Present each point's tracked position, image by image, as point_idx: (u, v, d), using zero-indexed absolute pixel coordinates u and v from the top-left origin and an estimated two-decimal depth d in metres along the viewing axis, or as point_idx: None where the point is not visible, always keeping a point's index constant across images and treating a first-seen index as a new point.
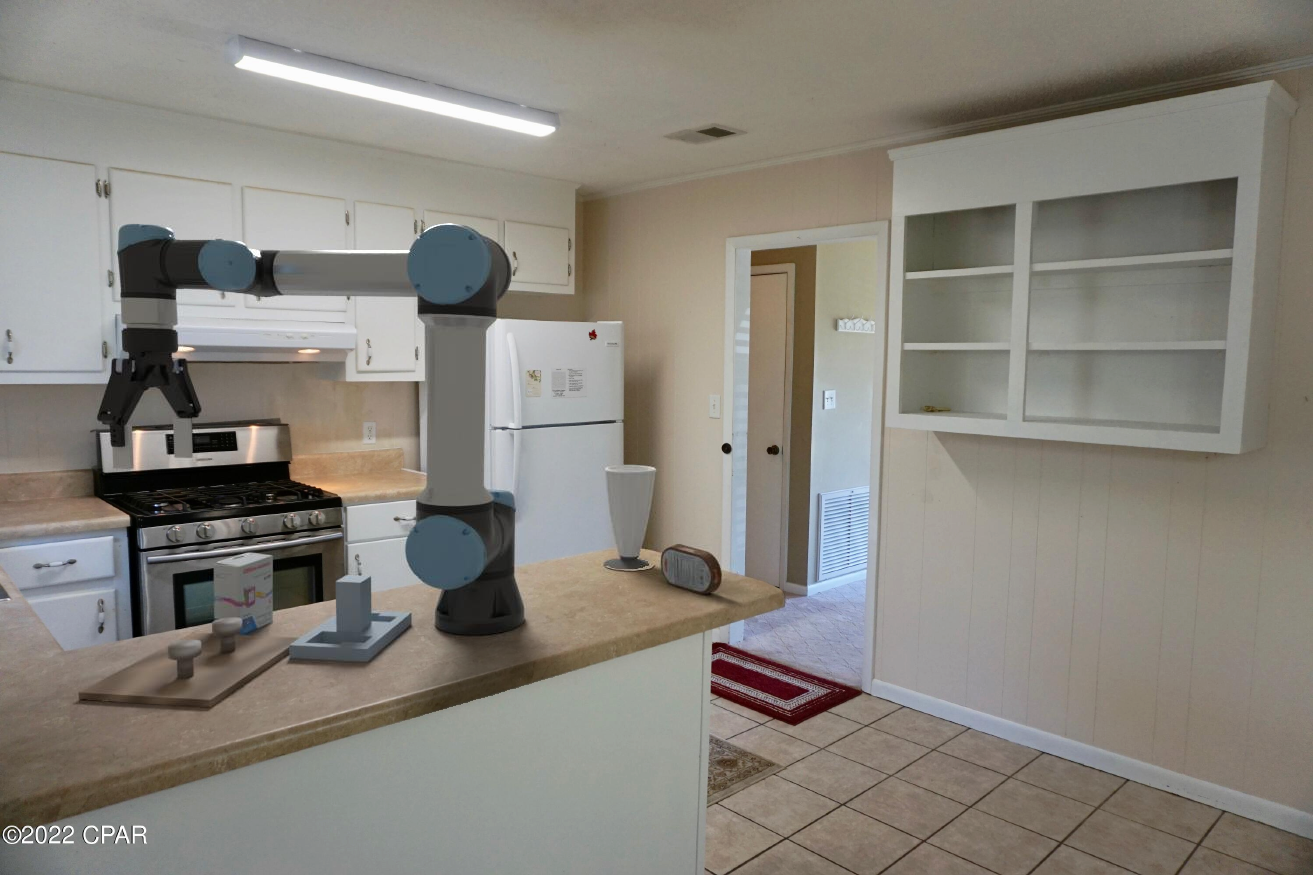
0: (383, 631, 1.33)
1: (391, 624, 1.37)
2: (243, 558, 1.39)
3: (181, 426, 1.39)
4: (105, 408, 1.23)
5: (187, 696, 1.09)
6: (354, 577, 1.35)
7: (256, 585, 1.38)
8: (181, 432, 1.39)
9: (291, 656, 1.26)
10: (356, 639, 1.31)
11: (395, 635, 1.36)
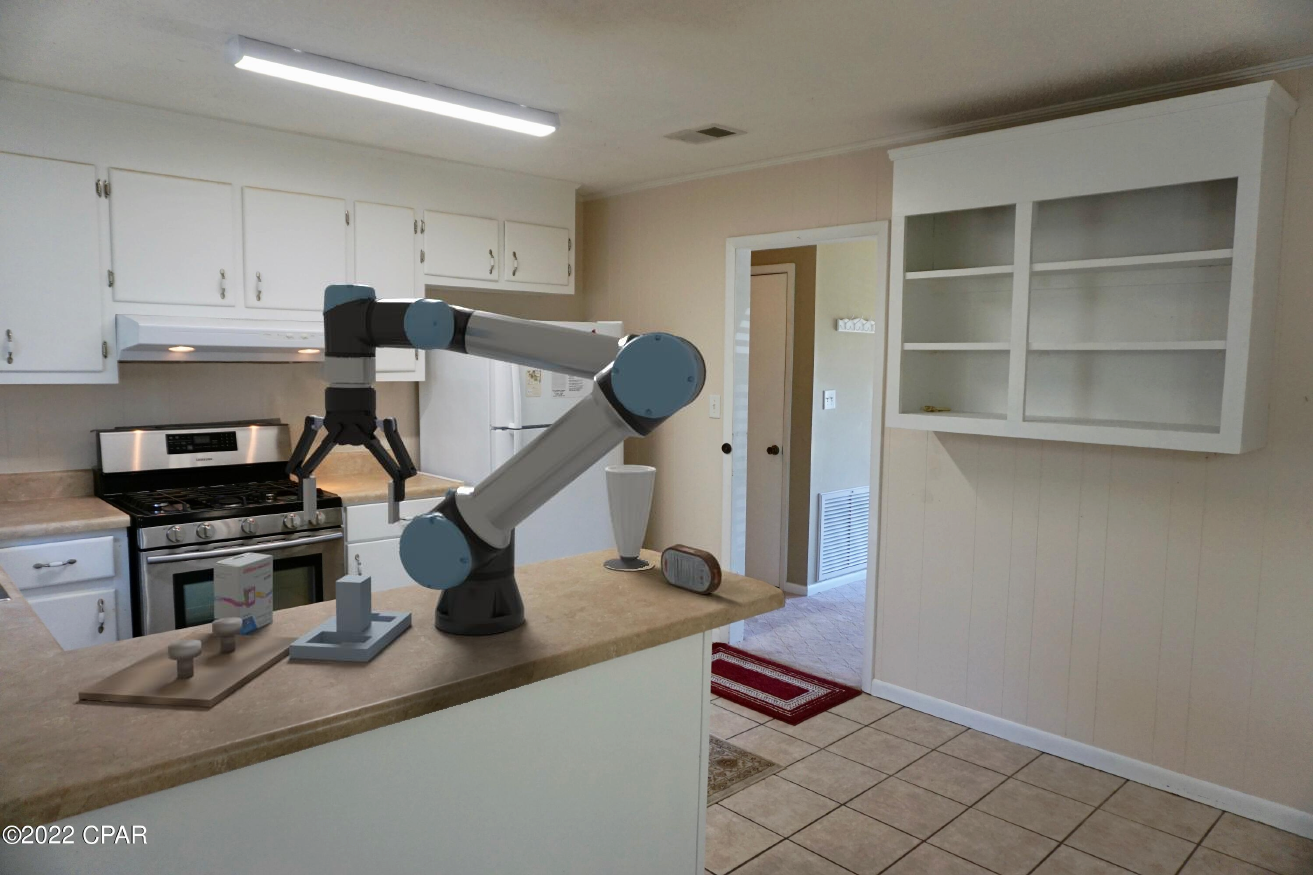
0: (383, 631, 1.33)
1: (391, 624, 1.37)
2: (243, 558, 1.39)
3: None
4: None
5: (187, 696, 1.09)
6: (354, 577, 1.35)
7: (256, 585, 1.38)
8: None
9: (291, 656, 1.26)
10: (356, 639, 1.31)
11: (395, 635, 1.36)
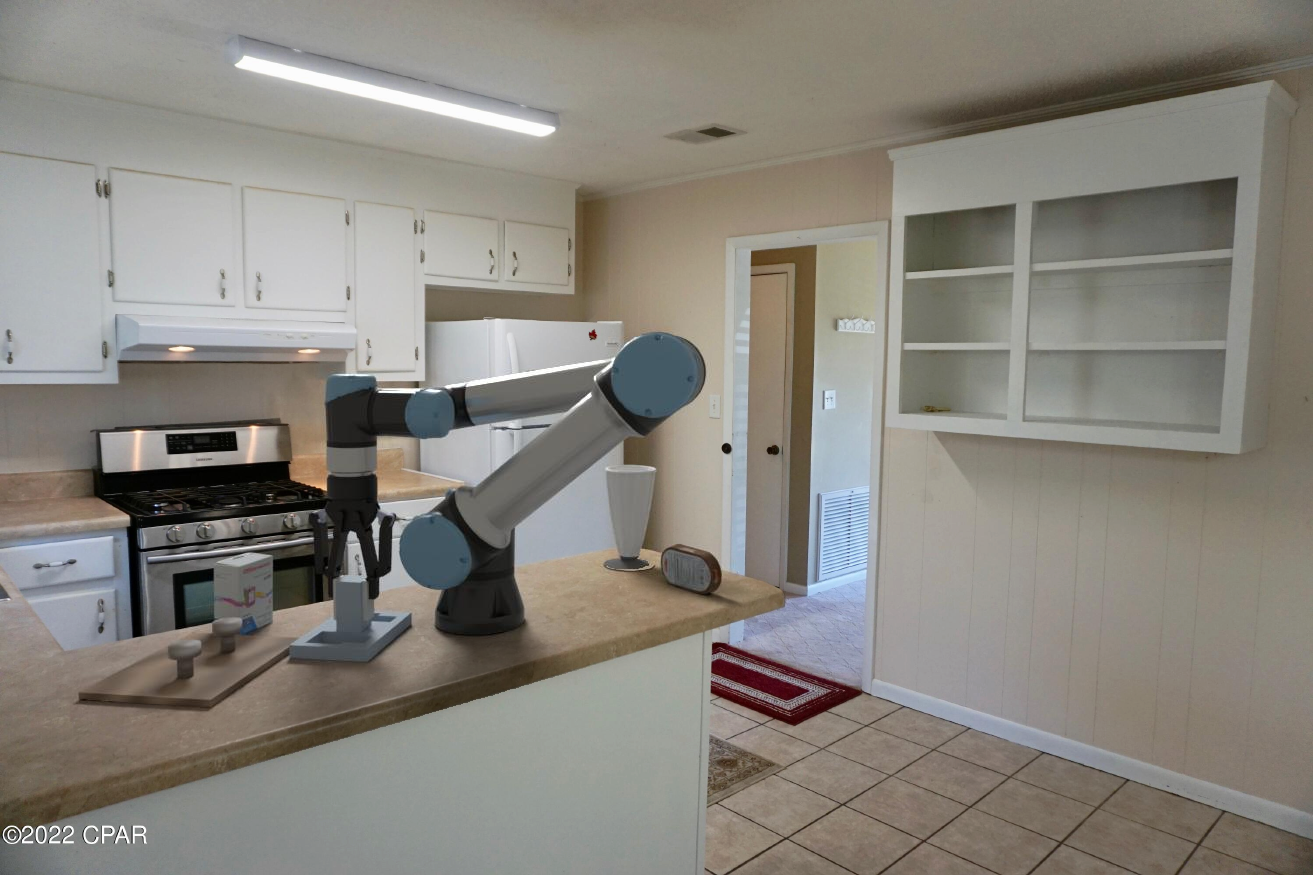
0: (383, 631, 1.33)
1: (391, 624, 1.37)
2: (243, 558, 1.39)
3: None
4: None
5: (187, 696, 1.09)
6: (354, 577, 1.35)
7: (256, 585, 1.38)
8: None
9: (291, 656, 1.26)
10: (356, 639, 1.31)
11: (395, 635, 1.36)
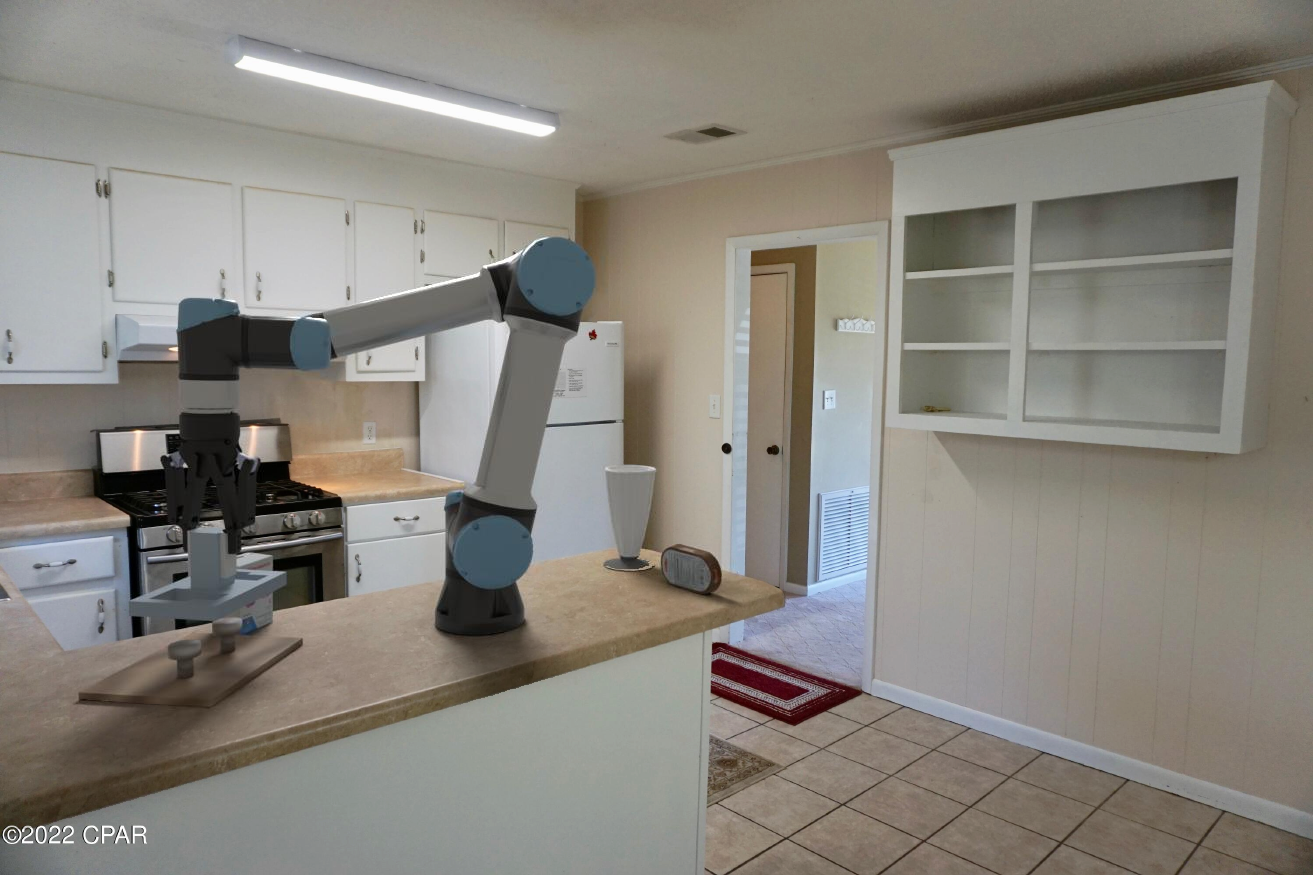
0: (244, 589, 1.18)
1: (257, 582, 1.22)
2: (243, 558, 1.39)
3: None
4: None
5: (187, 696, 1.09)
6: (214, 528, 1.20)
7: None
8: None
9: (131, 614, 1.12)
10: (211, 597, 1.16)
11: (261, 595, 1.22)
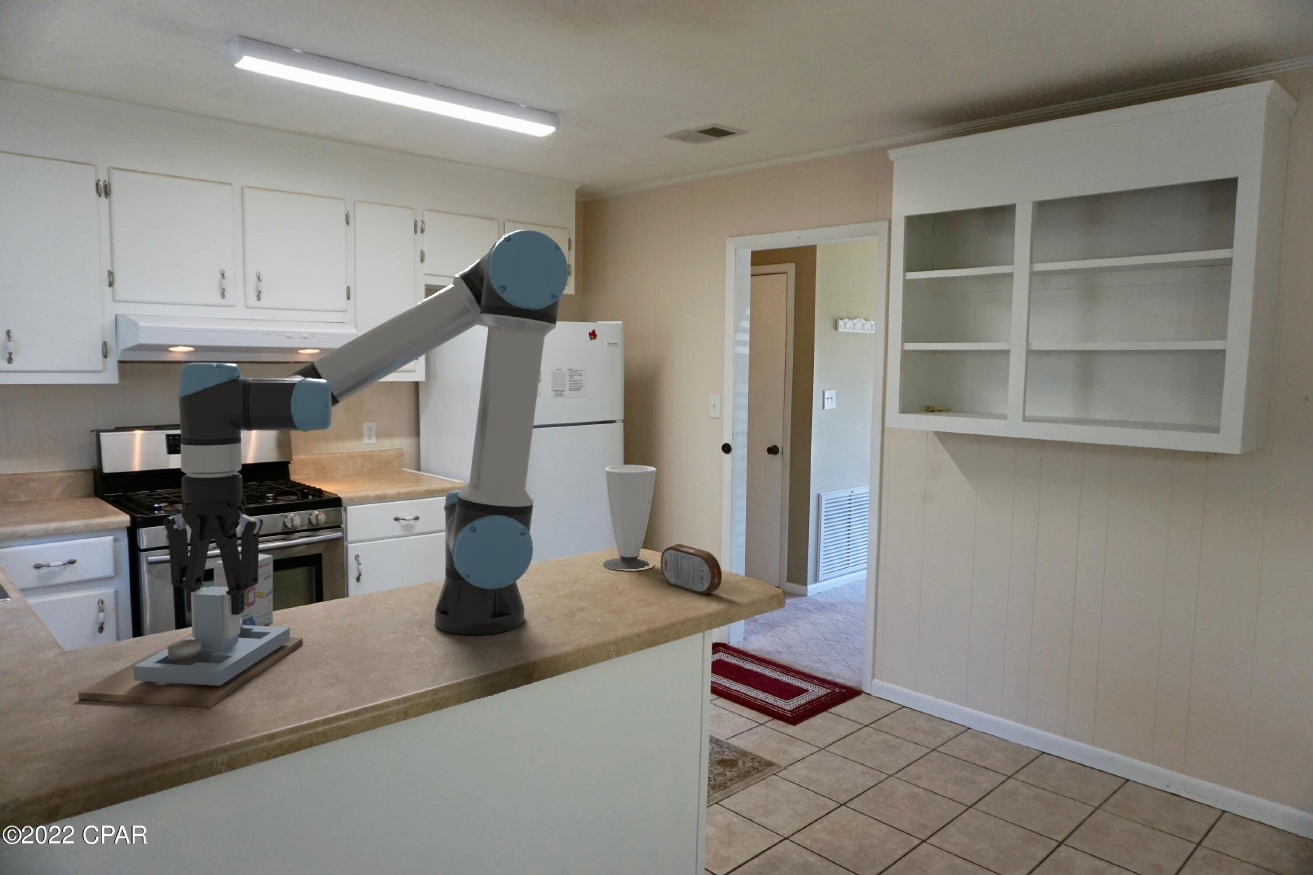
0: (247, 650, 1.19)
1: (260, 641, 1.23)
2: None
3: None
4: None
5: (187, 696, 1.09)
6: (217, 589, 1.21)
7: (256, 585, 1.38)
8: None
9: (136, 678, 1.13)
10: (215, 659, 1.17)
11: (264, 654, 1.22)
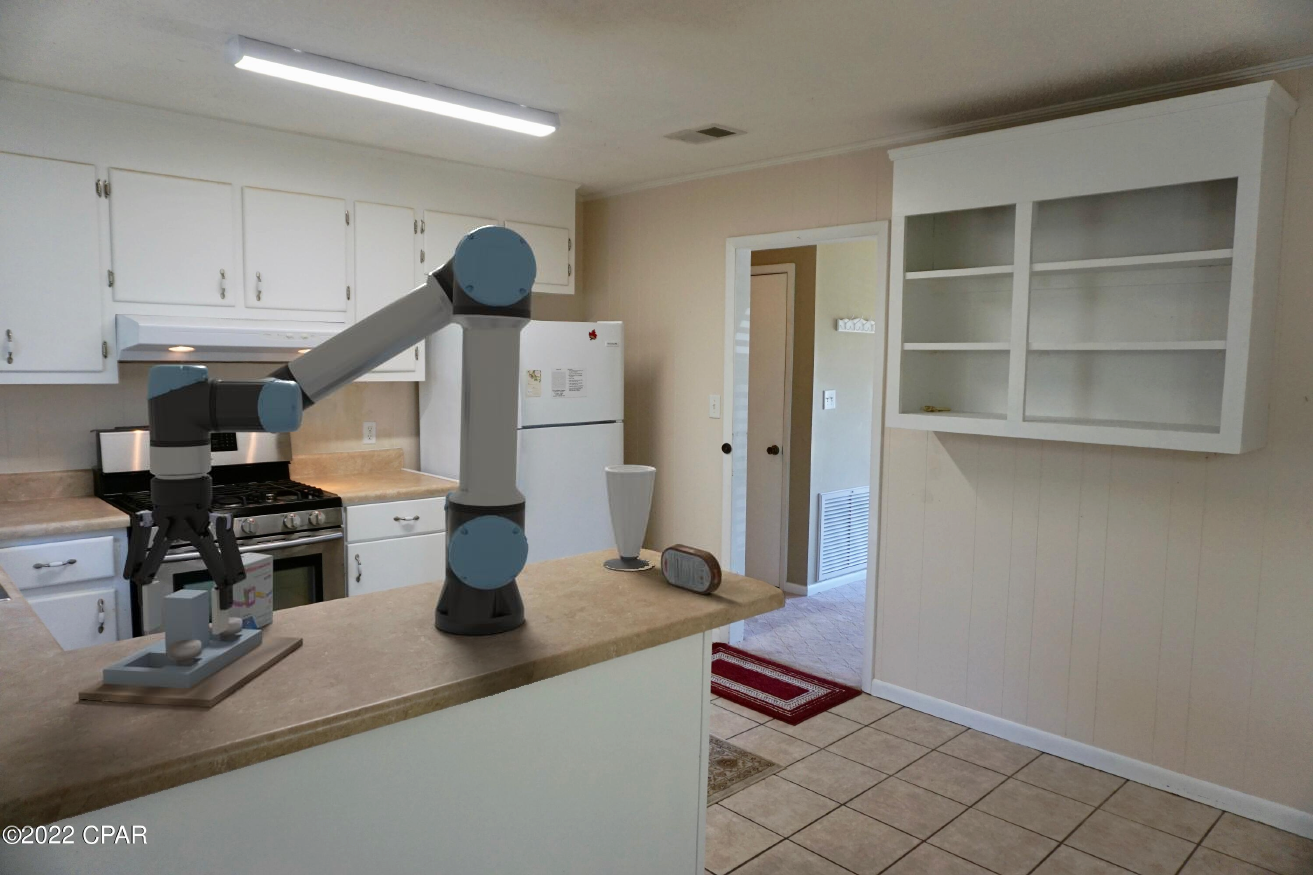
0: (218, 652, 1.20)
1: (232, 644, 1.23)
2: (244, 558, 1.39)
3: None
4: None
5: (187, 696, 1.09)
6: (188, 592, 1.21)
7: (256, 585, 1.38)
8: None
9: (105, 682, 1.13)
10: None
11: (236, 656, 1.23)
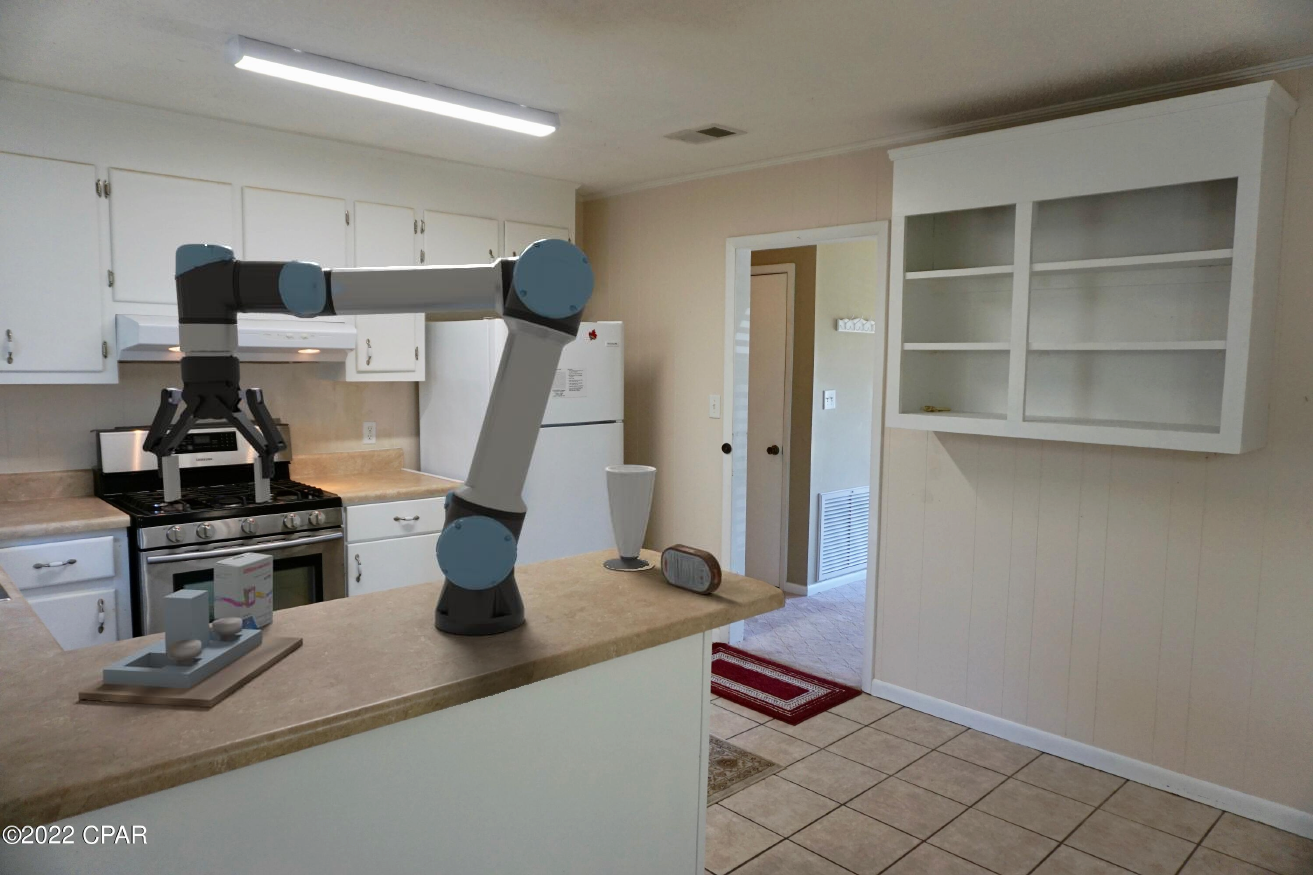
0: (218, 652, 1.20)
1: (232, 644, 1.23)
2: (243, 558, 1.39)
3: None
4: None
5: (187, 696, 1.09)
6: (188, 592, 1.21)
7: (256, 585, 1.38)
8: None
9: (105, 682, 1.13)
10: None
11: (236, 656, 1.23)
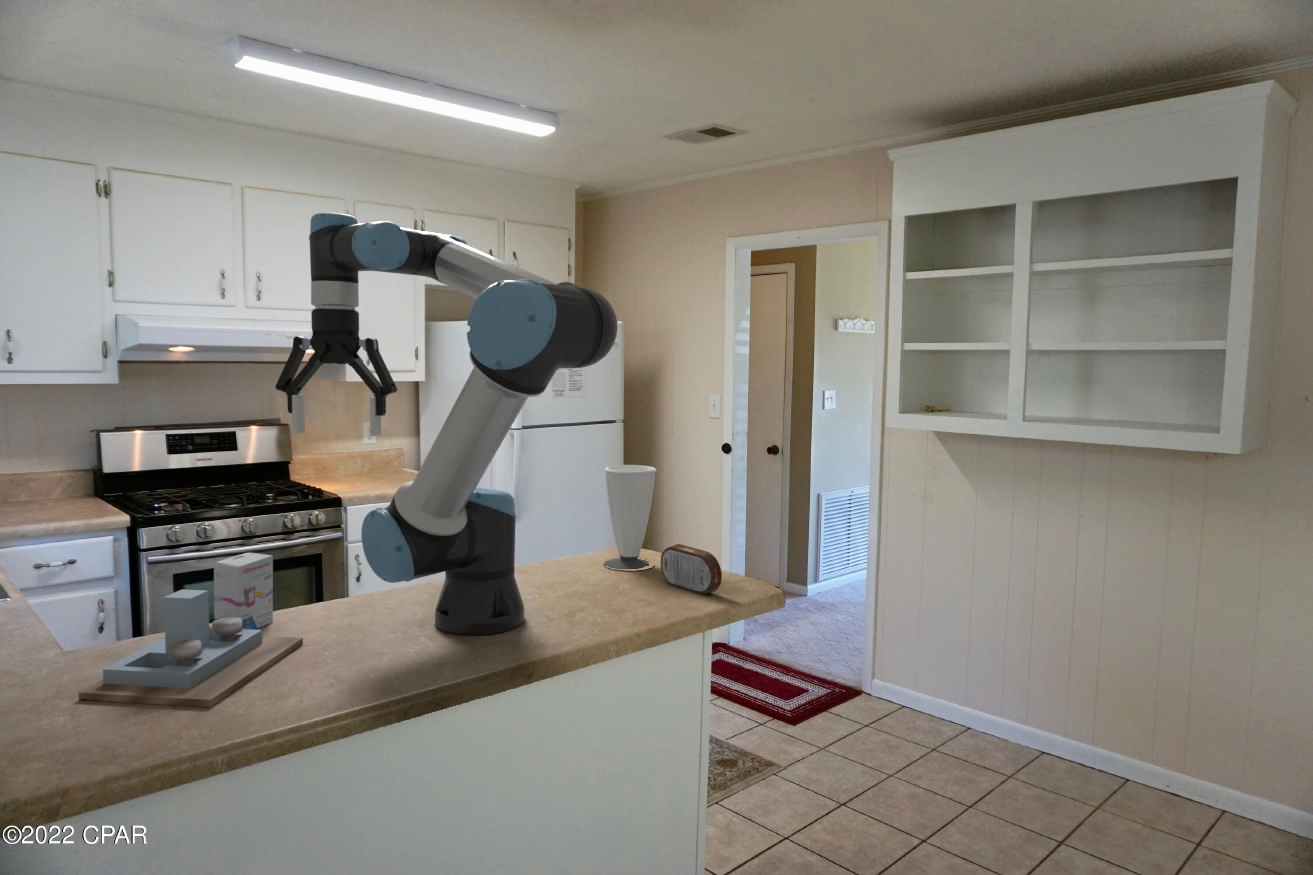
0: (218, 652, 1.20)
1: (232, 644, 1.23)
2: (243, 558, 1.39)
3: None
4: None
5: (187, 696, 1.09)
6: (188, 592, 1.21)
7: (256, 585, 1.38)
8: None
9: (105, 682, 1.13)
10: None
11: (236, 656, 1.23)
